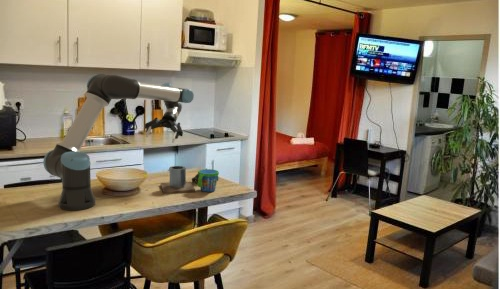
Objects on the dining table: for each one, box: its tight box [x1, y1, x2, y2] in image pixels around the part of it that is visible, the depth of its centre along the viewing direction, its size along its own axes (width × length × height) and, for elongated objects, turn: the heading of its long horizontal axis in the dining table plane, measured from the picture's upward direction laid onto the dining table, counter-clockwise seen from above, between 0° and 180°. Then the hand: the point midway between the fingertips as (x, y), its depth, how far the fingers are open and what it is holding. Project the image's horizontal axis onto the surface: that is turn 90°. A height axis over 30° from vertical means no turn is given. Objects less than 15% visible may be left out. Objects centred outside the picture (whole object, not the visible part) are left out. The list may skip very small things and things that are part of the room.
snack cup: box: [197, 168, 220, 193], centre depth 214 cm, size 16×10×10 cm
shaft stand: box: [160, 181, 196, 195], centre depth 216 cm, size 16×16×6 cm
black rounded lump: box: [191, 168, 208, 183], centre depth 230 cm, size 11×9×10 cm
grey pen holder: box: [169, 165, 187, 189], centre depth 215 cm, size 8×8×10 cm
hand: (159, 137), depth 212 cm, fingers open, 13 cm apart
